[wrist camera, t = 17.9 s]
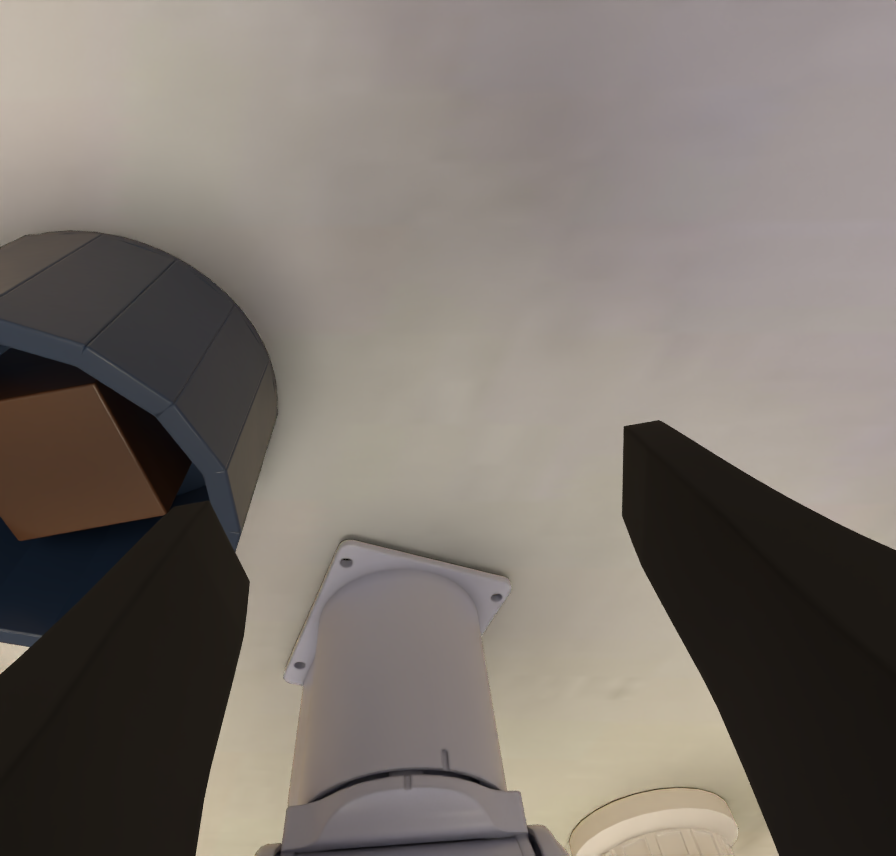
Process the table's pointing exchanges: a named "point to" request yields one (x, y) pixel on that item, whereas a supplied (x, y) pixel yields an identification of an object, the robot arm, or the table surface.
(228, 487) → the cup
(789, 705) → the robot arm
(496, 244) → the table surface
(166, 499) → the block
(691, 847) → the decorative container
